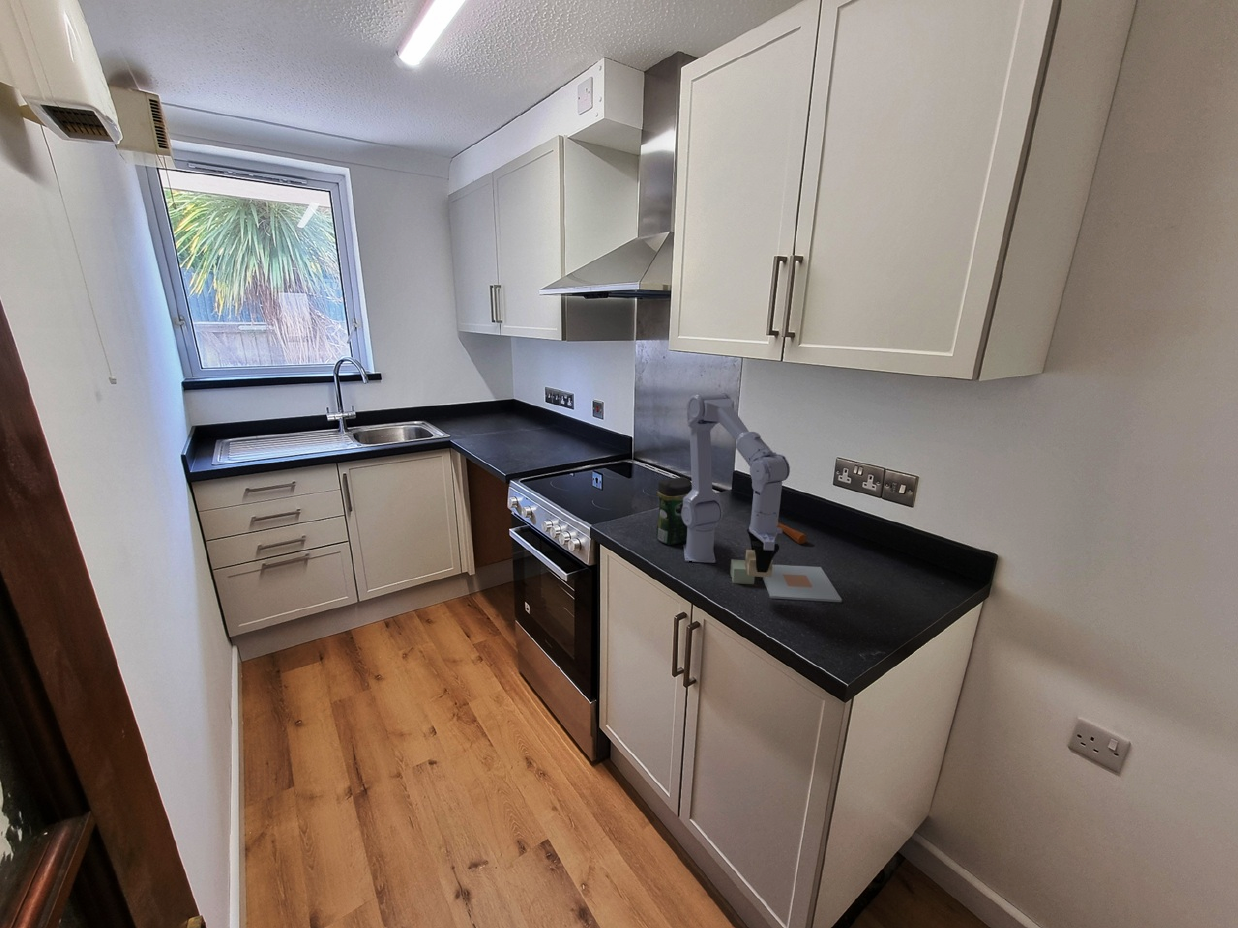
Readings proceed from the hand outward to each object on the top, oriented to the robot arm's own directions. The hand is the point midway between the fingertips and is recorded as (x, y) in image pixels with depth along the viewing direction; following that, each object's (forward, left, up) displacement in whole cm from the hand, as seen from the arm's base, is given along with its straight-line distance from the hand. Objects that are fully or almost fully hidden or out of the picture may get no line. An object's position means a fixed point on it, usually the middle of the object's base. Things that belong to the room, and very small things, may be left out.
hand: (759, 565), depth 115 cm
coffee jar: (-30, -19, -9) cm, 37 cm away
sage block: (-9, -2, -9) cm, 13 cm away
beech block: (0, 0, -1) cm, 1 cm away
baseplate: (-8, +11, -8) cm, 16 cm away
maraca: (-40, +14, -9) cm, 43 cm away
